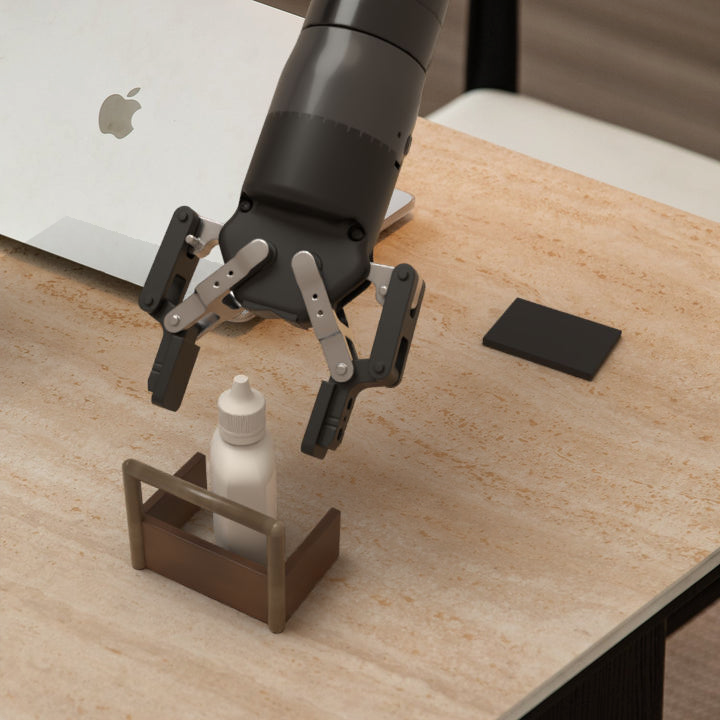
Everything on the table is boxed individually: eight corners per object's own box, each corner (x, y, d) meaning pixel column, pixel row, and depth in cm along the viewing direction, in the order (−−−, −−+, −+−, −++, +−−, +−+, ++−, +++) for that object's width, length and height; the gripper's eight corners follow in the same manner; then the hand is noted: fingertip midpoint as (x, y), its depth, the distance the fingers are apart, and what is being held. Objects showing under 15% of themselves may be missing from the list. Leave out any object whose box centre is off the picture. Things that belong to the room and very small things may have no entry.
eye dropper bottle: (303, 530, 70) (304, 360, 63) (258, 597, 66) (254, 422, 59) (234, 507, 72) (228, 338, 65) (186, 572, 68) (174, 398, 60)
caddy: (128, 565, 68) (117, 462, 63) (197, 495, 72) (192, 395, 68) (279, 635, 64) (278, 531, 60) (342, 557, 69) (345, 455, 64)
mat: (481, 344, 86) (482, 337, 85) (516, 303, 90) (517, 296, 90) (590, 381, 83) (592, 374, 82) (621, 337, 87) (622, 330, 87)
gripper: (188, 81, 63) (82, 381, 62) (449, 139, 59) (343, 464, 57) (240, 134, 71) (147, 405, 69) (477, 190, 66) (383, 481, 64)
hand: (236, 431), depth 63 cm, fingers open, 8 cm apart
